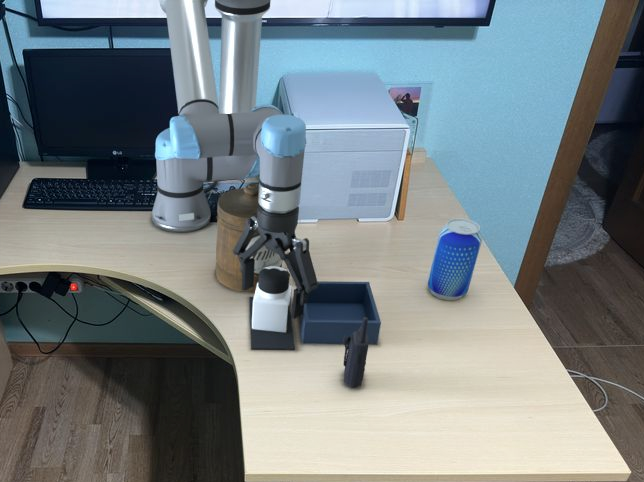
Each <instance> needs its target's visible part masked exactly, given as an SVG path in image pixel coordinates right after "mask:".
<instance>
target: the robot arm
mask: <svg viewBox="0 0 644 482" xmlns="http://www.w3.org/2000/svg"><path fill="white" fill-rule="evenodd" d="M208 2H209V0H159V5H160V8H161V10H162V11H163V13H165V14H166V23H167V30H168V31H167V32H168V39H169V48H170V55H171V63H172V72H173V80H174V87H175V96H176V104H177V111H178V112H177V114H178V115H177V116H172V117H171V118H170V120H169V127H167V128H166V129H164V130H163V131H161V132H160V133H159V134H158V135H157V137H156V138H155V151H154V158H155V159H156V183H157V193H156V197H155V200H154V202H153V203H154V204H153V207H152V211H151V220H152V223H153V224H154V226H155V227H156V228H158V229H160V230H163V231H165V232H171V233H189V232H195V231H197V230H201V229H203V228H205V227H207V225H208V224H209V223H210V222H211V219H212V218H211V217H212V216H211V215H212V213H211V208H210V205H209V202H208V200H207V197H206V194H205V193H207V192H209V191H210V190H212V189H213V188H214V187H215V186H216V185H217V183H218V182H219V181H229V180H230V181H231V180H240V181H241V180H242V181H243V180H247V179H253V178H257V177H258V176H259V179H258V186H259V197H258V203H259V205H258V212H257V215H255V216H253V217H251V218H249V219H247V220H246V224H245V229H244V231H243V233H242V235H241V237H240V239H239V240H238V242H237V244H236V246H235V248H234V250H233V253H234V255H238V256H239V259H240V260H241V270H240V271H241V273H242V290H243V291H246V290H248V289H249V288H251V287H253V285H254V265H255V259H253V258H251V259H250V257H252V256H254V254H255V253H256V252H257V251H259V250H260V249H261V248H262V247H263V246H264V245H265V247H266V249H268V250H272V251H273V252H274V253H276V254H279V256H280V258H281V259H282V260H283V261H284V264H285V266H286V268H287V271H288V272H289V274H290V276H291V278H292V280H293V282H294V285H295V287H296V288H294V289H293V292H292V303H291V319H292V320H295V319H297V318H299V316H300V315H302V314H303V311H304V304H305V303H307V301H308V293H310V292H312V291H313V290H315V289H317V288H318V287H319V286H318V282H317V281H318V277H317V274H316V271H315V267H314V263H313V259H312V256H311V252H310V240H309V238H307V237H305V238H303V239H301V238H298V237H297V236H296V229H297V226H298V225H299V214H300V213H299V212H300V207H299V206H300V204H301V191H302V179H303V170H304V159H305V150H306V145H307V126H306V123H305V121H304V120H303V119H302V118H300V117H297V116H296V115H291V114H284V112H282V110H280V109H279V108H278V107H277V106H275V105H273V104H269V103H262V104H259V105H257V93H258V81H259V80H258V79H259V66H260V63H259V62H260V53H261V52H260V51H261V40H262V39H261V37H262V25H263V16H264V15H265V14H266V13H267V12H269V10H270V9H271V0H214V8H215V9H216V11H217V12H218V13H219V14H220V16H221V27H220V29H221V31H220V32H221V33H220V61H219V62H220V65H219V67H220V68H219V95H218V93H217V86H216V78H215V72H214V64H213V58H212V51H211V44H210V37H209V29H208V24H207V15H206V10H205V8H206V7H207V5H208ZM218 97H219V98H218ZM204 182H212V183H211V184H210V185H209V186H207V187H205V188H204ZM257 229H258V232H259V234H260V236H261V237H260V238H259V239H258V240H256V241H255V242H254V244H253V245H252V246H250V247H249V248H248V249H247V250H246V248H247V246H248V245H249V243H250V241H251V239H252V237H253V236H254V234H255V232H256V230H257ZM287 251H289V252H287ZM286 252H287V253H286ZM302 282H303V284H302ZM243 291H242V292H243Z"/></svg>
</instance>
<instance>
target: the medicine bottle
mask: <svg viewBox="0 0 644 482" xmlns="http://www.w3.org/2000/svg"><path fill="white" fill-rule="evenodd" d="M290 276H291V274H290V272H289V270H288V269H285V268H284V267H283V266H282V267H278V266H269V267H265V268H263V269H262V270H261V271H260V272H259V279H258V283H257V287H256V291H255V292H254V294H253V297H254V299H253V312H252V329H256V330H265V331H275V332H284V333H286V332H287V328H288V322H289V316H290V311H291V308H292V296H293V285H292V284H290Z"/></svg>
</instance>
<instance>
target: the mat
mask: <svg viewBox="0 0 644 482" xmlns="http://www.w3.org/2000/svg"><path fill="white" fill-rule="evenodd" d="M253 299H254V296H249V320H250V321H249V322H250V323H249V324H250V326H249V327H250V349H251V350H252V351H253V350H254V351H255V350H256V351H258V350H260V351H295V350H296V345H295V338H294V337H295V335H294V329H293V318H291V314H292V310H290V316H289V322H288V328H287V332H286V333H284V332H275V331H265V330H256V329H252V312H253Z"/></svg>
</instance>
